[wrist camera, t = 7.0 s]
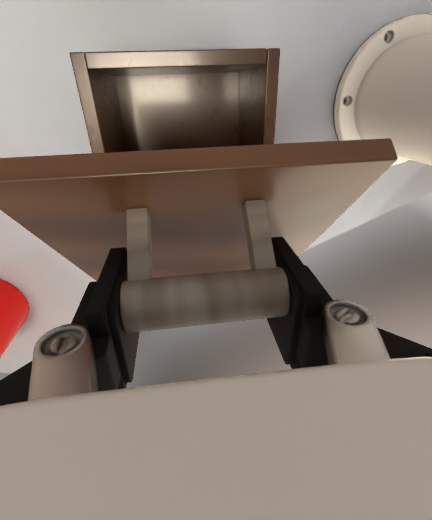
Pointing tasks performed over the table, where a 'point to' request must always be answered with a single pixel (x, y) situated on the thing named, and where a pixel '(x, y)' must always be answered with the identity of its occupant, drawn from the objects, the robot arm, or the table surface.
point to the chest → (177, 98)
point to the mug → (10, 313)
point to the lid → (192, 219)
